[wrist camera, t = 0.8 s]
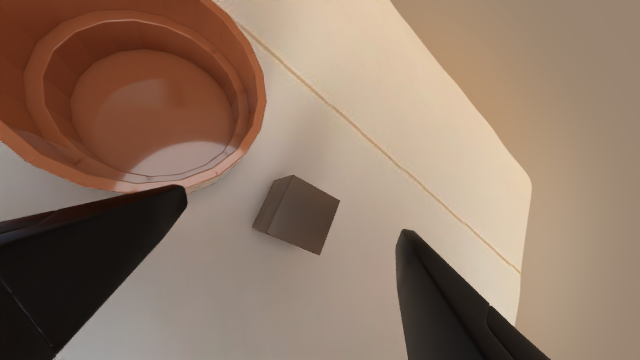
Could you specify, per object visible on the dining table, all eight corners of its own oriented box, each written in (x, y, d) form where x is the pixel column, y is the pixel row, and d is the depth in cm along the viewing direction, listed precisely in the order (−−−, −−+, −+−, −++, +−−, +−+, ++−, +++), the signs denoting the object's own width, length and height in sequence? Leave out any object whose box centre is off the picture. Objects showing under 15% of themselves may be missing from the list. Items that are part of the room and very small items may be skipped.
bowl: (105, 227, 16) (49, 241, 10) (5, 49, 15) (-130, -61, 9) (268, 162, 23) (295, 146, 16) (209, 31, 21) (214, -40, 15)
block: (296, 245, 23) (319, 255, 19) (251, 227, 21) (265, 233, 17) (315, 201, 25) (340, 200, 20) (274, 180, 23) (293, 174, 18)
